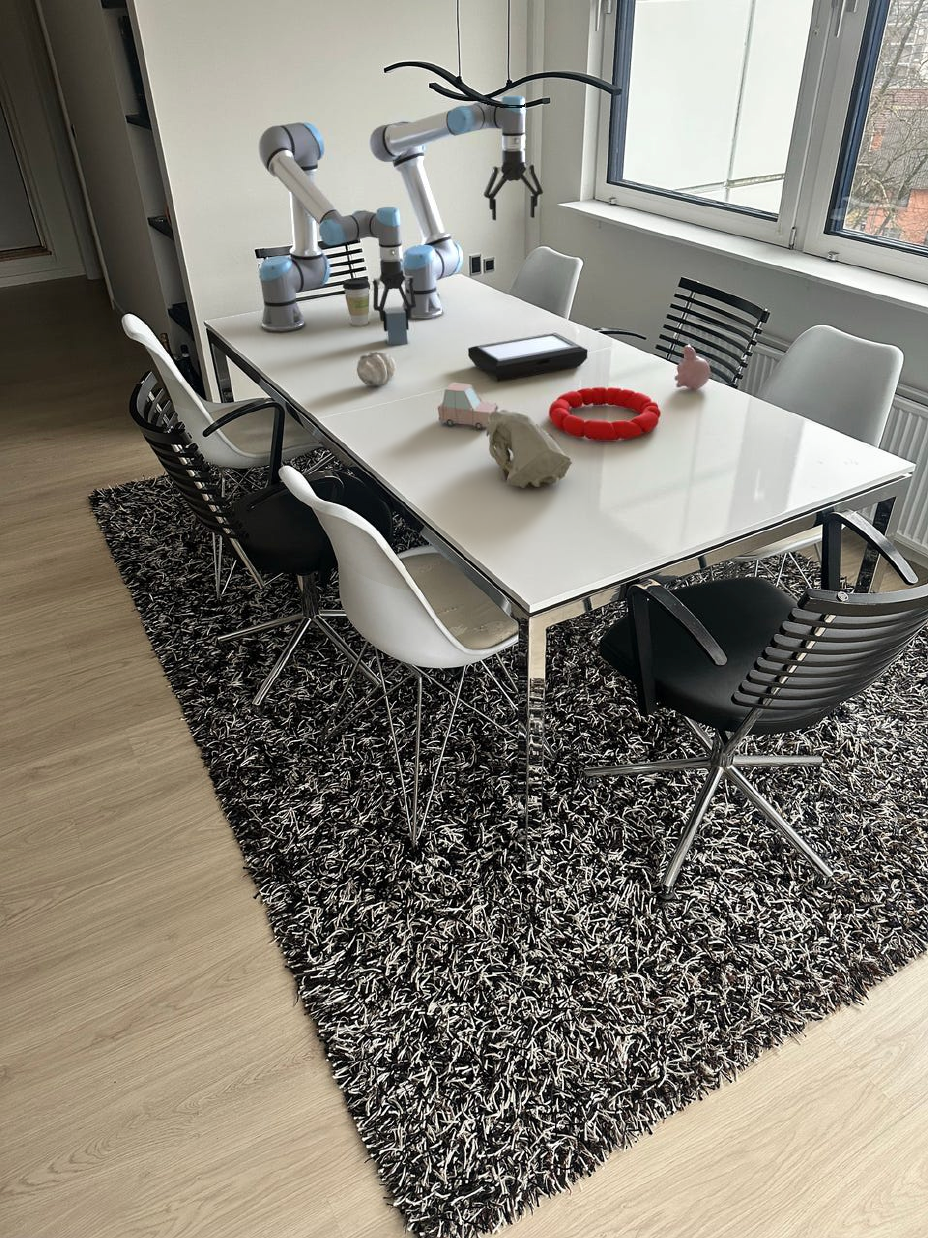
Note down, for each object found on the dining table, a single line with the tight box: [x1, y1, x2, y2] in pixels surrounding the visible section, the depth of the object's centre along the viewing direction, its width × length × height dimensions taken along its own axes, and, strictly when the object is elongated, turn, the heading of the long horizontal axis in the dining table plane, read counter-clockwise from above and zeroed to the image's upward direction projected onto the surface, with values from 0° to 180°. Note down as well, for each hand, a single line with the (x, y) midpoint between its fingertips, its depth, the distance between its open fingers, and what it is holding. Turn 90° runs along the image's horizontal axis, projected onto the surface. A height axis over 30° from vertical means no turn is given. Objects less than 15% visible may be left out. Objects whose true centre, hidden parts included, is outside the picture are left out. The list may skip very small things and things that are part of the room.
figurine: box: [674, 344, 711, 390], centre depth 259 cm, size 9×11×12 cm
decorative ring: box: [548, 386, 661, 442], centre depth 242 cm, size 7×30×30 cm
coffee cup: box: [342, 277, 371, 327], centre depth 323 cm, size 10×10×15 cm
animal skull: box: [485, 409, 573, 489], centre depth 216 cm, size 17×25×20 cm
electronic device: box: [467, 332, 588, 382], centre depth 281 cm, size 32×6×20 cm
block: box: [383, 306, 408, 346], centre depth 305 cm, size 7×6×11 cm
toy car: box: [437, 382, 499, 431], centre depth 243 cm, size 9×15×10 cm, turn 70°
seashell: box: [356, 351, 396, 386], centre depth 270 cm, size 10×15×10 cm
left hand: (396, 329), depth 306 cm, fingers open, 7 cm apart
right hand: (513, 218), depth 308 cm, fingers open, 13 cm apart
